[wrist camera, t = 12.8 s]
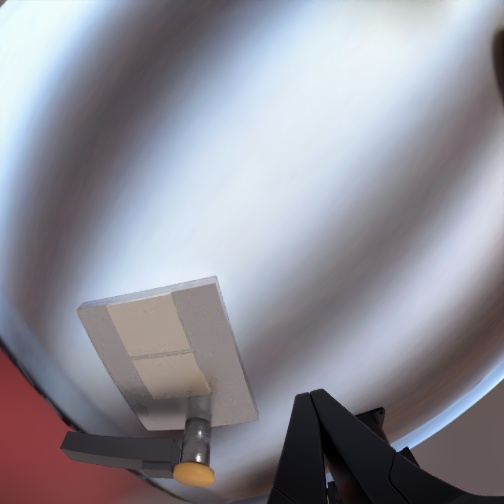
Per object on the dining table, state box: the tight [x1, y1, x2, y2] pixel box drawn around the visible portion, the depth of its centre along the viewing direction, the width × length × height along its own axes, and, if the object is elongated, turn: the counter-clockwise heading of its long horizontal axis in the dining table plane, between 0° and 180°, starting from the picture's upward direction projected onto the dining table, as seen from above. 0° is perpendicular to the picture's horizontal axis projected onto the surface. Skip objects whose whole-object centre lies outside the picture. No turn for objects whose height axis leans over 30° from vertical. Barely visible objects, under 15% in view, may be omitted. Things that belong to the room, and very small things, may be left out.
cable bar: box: [60, 431, 214, 487], centre depth 18 cm, size 15×3×4 cm, turn 100°
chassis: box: [77, 276, 259, 467], centre depth 19 cm, size 15×11×6 cm
